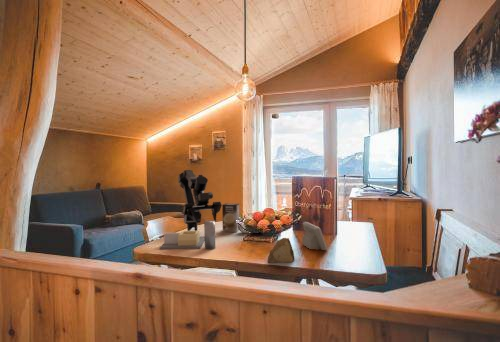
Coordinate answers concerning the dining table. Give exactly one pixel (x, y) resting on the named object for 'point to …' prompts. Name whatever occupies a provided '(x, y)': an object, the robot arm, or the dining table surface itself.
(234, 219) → the coffee box
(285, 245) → the rock
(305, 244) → the grey angular slab
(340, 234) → the dining table surface
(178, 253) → the dining table surface
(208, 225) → the hinge pin
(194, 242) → the grey plate with frame
